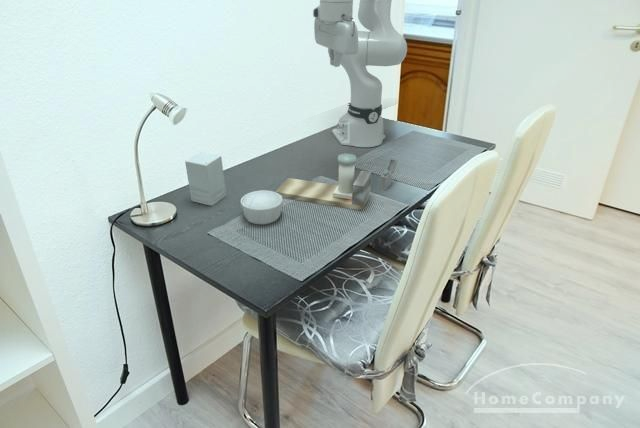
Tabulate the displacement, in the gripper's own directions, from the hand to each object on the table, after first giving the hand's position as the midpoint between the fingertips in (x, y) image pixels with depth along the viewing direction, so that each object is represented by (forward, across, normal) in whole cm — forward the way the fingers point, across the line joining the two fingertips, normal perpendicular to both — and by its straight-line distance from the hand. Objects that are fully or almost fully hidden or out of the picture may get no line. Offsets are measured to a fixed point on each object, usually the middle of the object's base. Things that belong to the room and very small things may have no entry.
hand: (335, 65), depth 128 cm
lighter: (+34, -14, -12) cm, 39 cm away
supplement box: (+34, 0, +40) cm, 53 cm away
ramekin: (+34, -16, +29) cm, 48 cm away
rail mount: (+34, -12, +9) cm, 37 cm away
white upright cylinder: (+32, -17, +4) cm, 37 cm away
